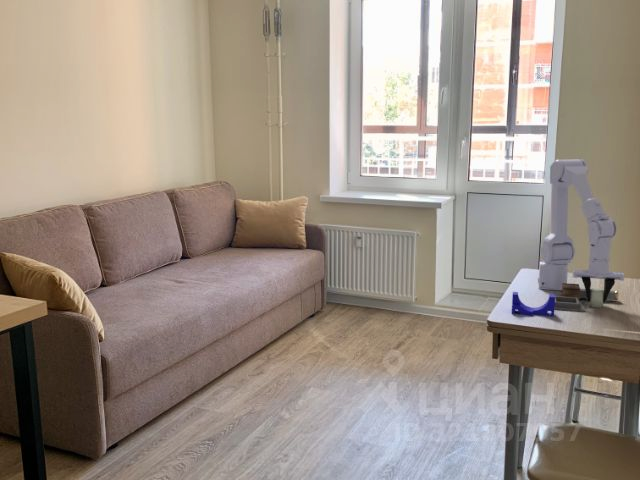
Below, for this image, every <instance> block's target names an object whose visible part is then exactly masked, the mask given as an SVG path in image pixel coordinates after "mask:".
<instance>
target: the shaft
mask: <svg viewBox="0 0 640 480" xmlns="http://www.w3.org/2000/svg"><path fill="white" fill-rule="evenodd" d="M580 299H587V295H586V290H585V288H580ZM607 300H609V301H618V300H619V291H618V290H610V292H609V294H608V297H607ZM607 300H606V301H607Z"/></svg>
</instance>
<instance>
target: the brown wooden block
mask: <svg viewBox="0 0 640 480" xmlns="http://www.w3.org/2000/svg"><path fill="white" fill-rule="evenodd" d="M580 289H581V287H580V284H579V283H568V282H567V283H562V290H561V296H562V297H576V298H578V300H579V301H581V300H580V299H581V298H580Z"/></svg>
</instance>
